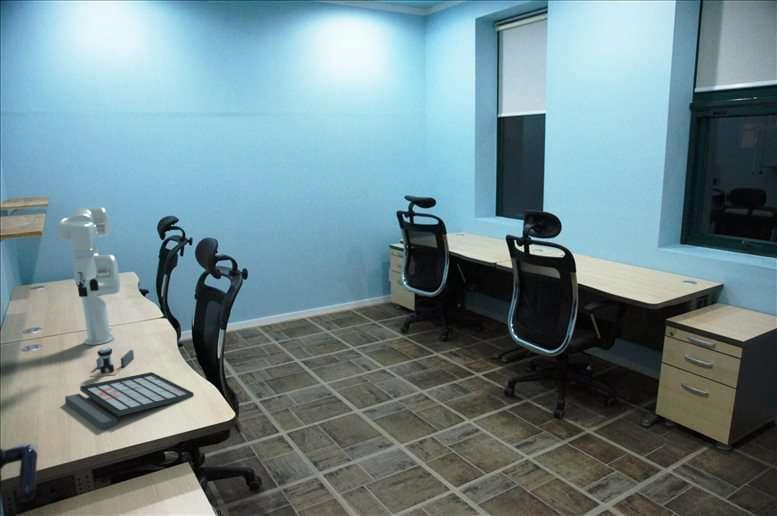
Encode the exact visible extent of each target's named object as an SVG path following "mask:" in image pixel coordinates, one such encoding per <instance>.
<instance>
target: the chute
mask: <svg viewBox="0 0 777 516" xmlns="http://www.w3.org/2000/svg"><path fill="white" fill-rule="evenodd" d="M108 358H109V356H108ZM134 359H135V355H134V349H130V350H129V351H127V352H126V353H125V354H124V355H123V356H122V357H121V358H120V364H121V368H122V369H123V368H126V367H127V366H128V365H129V364H130V363H131V362H132V361H133V360H134ZM95 361H96V368H97V369H96V370H99V369H100V367H101V365H102V364H101V356H99V357H98V358H97V359H96V360H95ZM103 364H104V363H103ZM103 366H104V365H103Z"/></svg>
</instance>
